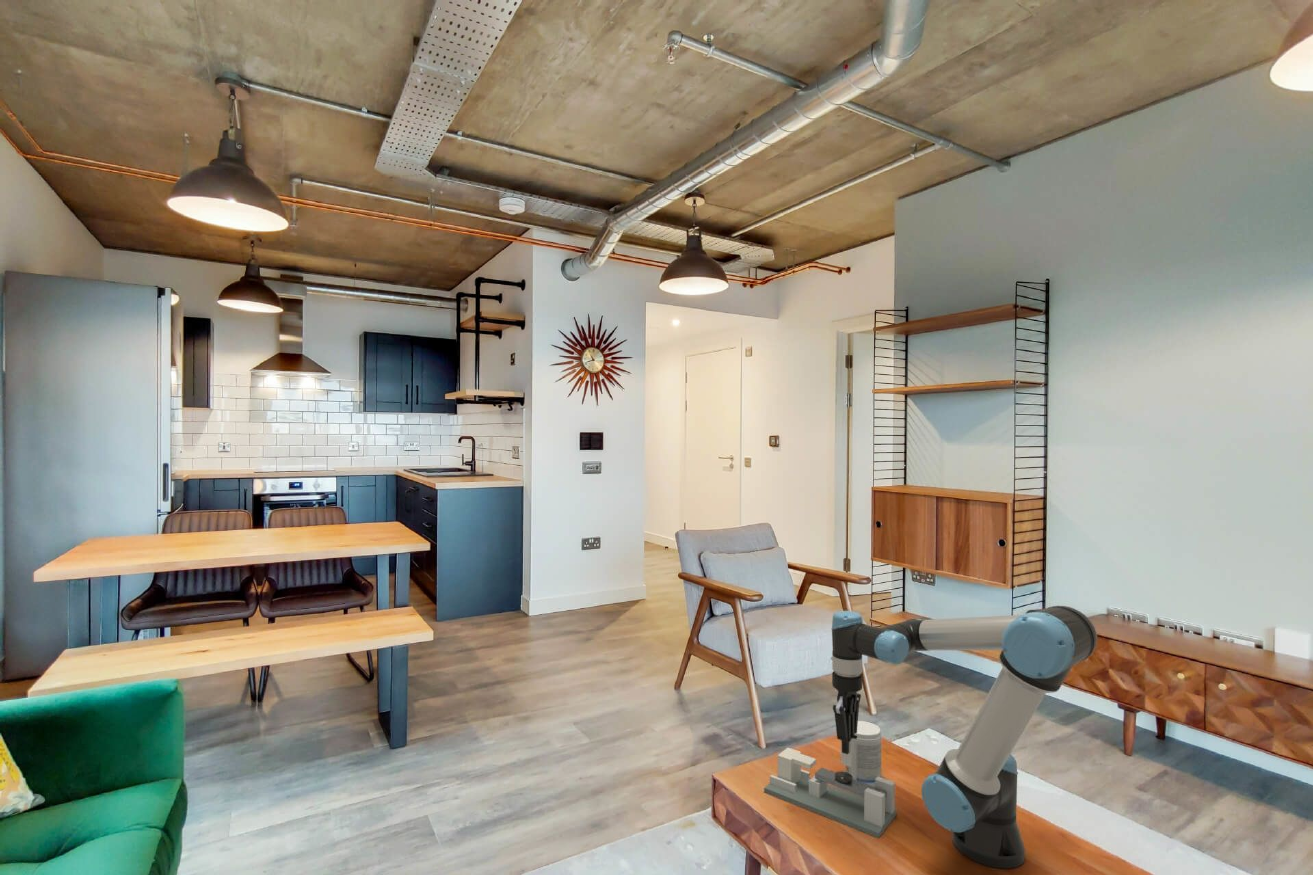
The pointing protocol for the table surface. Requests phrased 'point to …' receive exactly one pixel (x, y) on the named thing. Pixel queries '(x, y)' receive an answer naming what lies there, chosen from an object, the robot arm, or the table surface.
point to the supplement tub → (866, 754)
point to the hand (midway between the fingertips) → (847, 764)
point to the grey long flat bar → (844, 781)
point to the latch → (793, 764)
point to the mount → (840, 801)
